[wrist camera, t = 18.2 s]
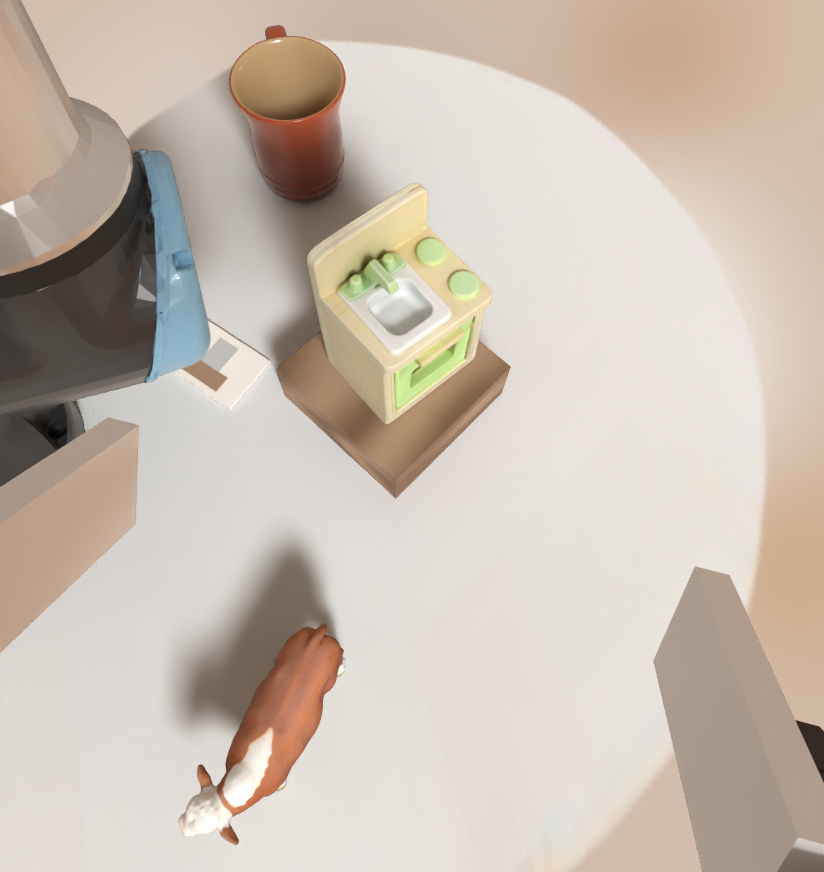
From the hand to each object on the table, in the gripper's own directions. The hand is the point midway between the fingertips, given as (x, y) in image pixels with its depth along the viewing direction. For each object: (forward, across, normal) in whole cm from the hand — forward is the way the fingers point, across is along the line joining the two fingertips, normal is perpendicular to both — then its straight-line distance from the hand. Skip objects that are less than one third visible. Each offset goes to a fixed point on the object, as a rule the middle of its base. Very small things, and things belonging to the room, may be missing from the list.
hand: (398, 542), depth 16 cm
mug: (+51, -19, +3) cm, 55 cm away
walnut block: (+37, -5, -11) cm, 39 cm away
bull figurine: (+19, -6, -29) cm, 35 cm away
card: (+36, -19, -11) cm, 43 cm away
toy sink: (+34, -5, -7) cm, 35 cm away
